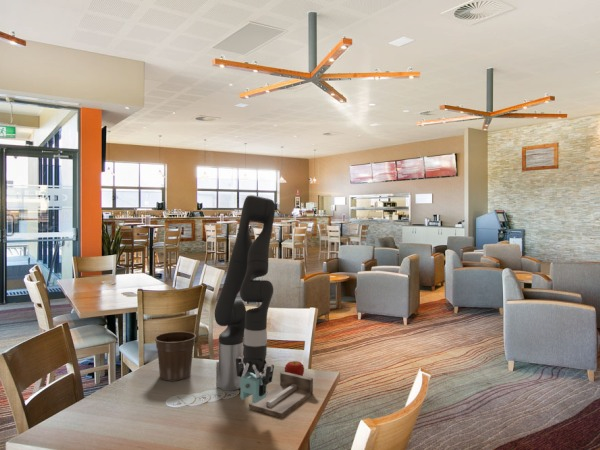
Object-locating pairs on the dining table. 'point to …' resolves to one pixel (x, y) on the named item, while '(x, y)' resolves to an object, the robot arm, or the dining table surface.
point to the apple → (295, 368)
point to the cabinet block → (251, 388)
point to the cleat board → (288, 399)
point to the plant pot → (175, 354)
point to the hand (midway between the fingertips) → (253, 392)
